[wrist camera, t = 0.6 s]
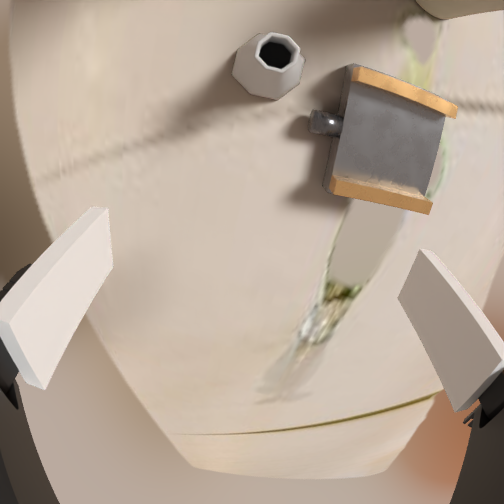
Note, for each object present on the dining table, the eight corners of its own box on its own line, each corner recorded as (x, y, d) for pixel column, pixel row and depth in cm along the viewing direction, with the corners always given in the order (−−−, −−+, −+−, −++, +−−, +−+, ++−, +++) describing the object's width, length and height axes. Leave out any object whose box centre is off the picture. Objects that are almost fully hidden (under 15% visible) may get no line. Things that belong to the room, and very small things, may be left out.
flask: (316, 58, 25) (345, 43, 17) (280, 111, 28) (294, 118, 20) (256, 23, 23) (258, -8, 15) (219, 78, 27) (205, 69, 18)
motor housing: (319, 58, 25) (330, 52, 21) (436, 98, 26) (458, 102, 23) (296, 181, 32) (303, 194, 28) (410, 204, 33) (427, 218, 29)
